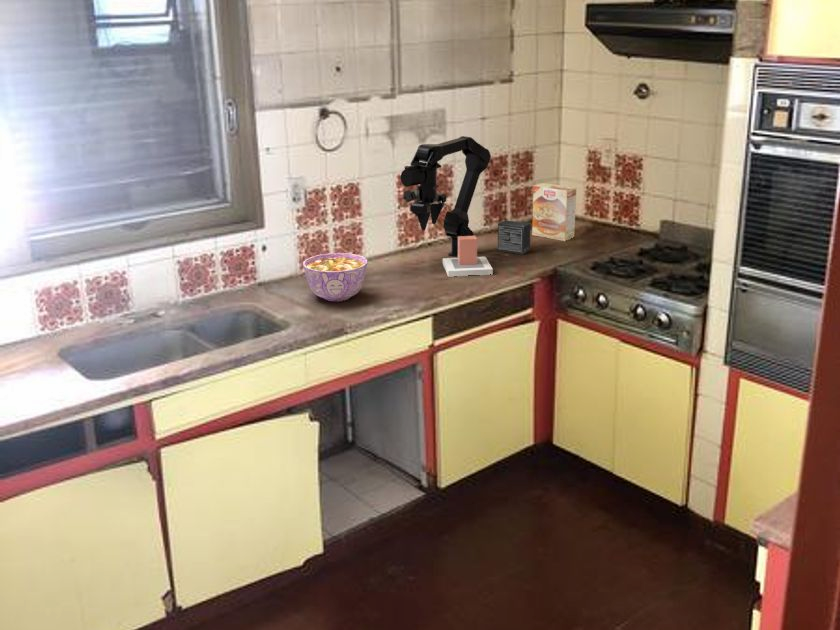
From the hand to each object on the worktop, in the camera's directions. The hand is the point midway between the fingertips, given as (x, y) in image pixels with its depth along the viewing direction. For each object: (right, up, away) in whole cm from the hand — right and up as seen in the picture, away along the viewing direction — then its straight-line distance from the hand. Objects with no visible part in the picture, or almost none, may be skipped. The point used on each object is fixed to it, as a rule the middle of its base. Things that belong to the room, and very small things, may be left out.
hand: (428, 226), depth 318 cm
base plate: (+13, -15, -3) cm, 20 cm away
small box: (+31, -7, +18) cm, 36 cm away
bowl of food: (-29, -25, -28) cm, 48 cm away
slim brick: (+13, -13, -4) cm, 19 cm away
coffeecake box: (+48, 0, +35) cm, 60 cm away
